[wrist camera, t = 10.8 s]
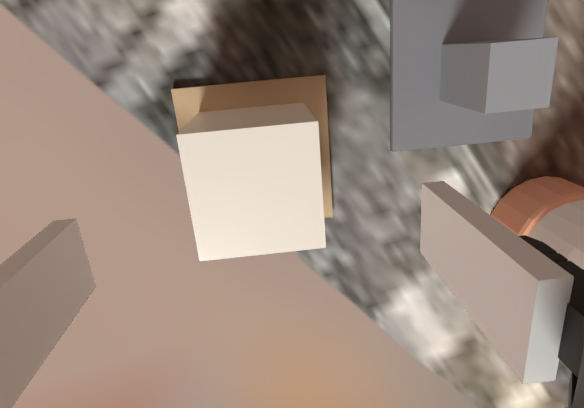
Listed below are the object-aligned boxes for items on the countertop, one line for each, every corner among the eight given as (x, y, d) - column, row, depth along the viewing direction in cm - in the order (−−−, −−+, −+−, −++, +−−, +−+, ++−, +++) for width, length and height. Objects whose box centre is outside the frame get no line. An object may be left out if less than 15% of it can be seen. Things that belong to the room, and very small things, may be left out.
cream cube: (198, 112, 24) (176, 134, 18) (303, 102, 25) (318, 121, 18) (214, 209, 27) (199, 261, 20) (310, 199, 27) (325, 247, 20)
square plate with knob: (390, -6, 23) (431, -23, 18) (544, -19, 24) (632, -40, 18) (390, 149, 27) (424, 176, 21) (526, 136, 27) (595, 159, 21)
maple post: (172, 88, 24) (146, 100, 19) (324, 74, 25) (342, 81, 19) (197, 227, 28) (181, 273, 22) (331, 213, 28) (349, 255, 22)
